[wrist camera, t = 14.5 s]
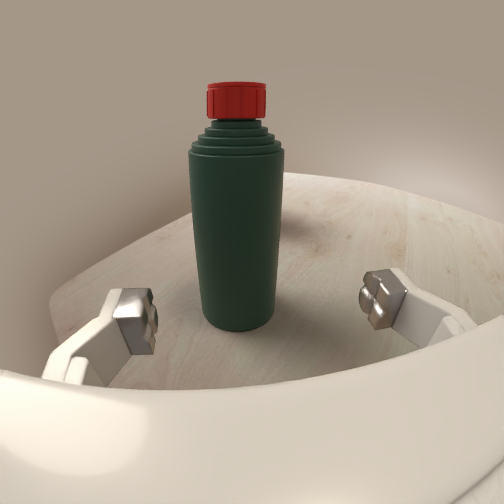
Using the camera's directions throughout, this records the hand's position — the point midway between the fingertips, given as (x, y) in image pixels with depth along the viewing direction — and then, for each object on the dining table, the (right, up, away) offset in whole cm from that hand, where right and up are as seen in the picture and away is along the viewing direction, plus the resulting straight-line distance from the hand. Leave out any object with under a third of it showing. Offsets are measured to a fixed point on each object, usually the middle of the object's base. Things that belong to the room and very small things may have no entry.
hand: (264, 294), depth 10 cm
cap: (-1, +12, +6) cm, 14 cm away
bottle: (-2, -3, +15) cm, 16 cm away
